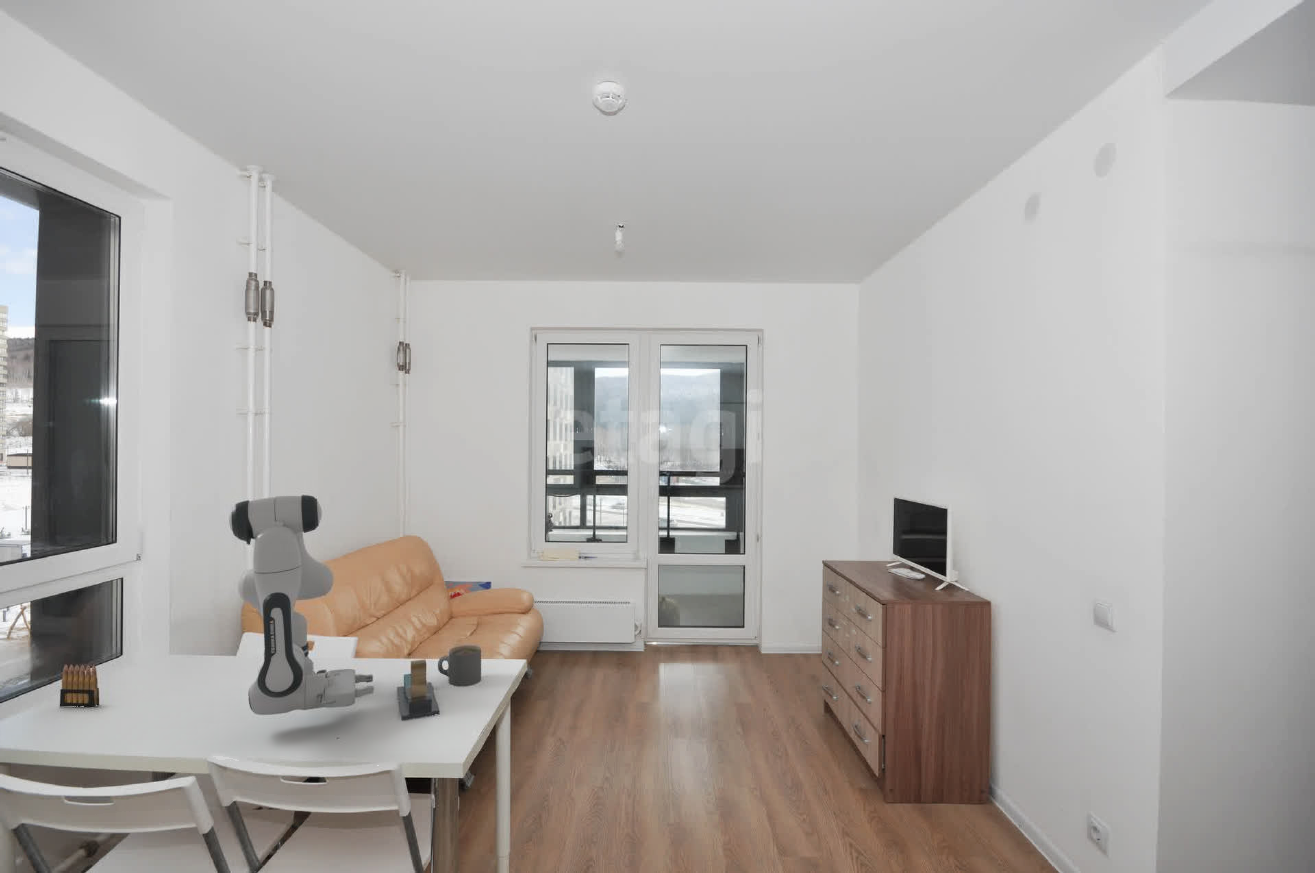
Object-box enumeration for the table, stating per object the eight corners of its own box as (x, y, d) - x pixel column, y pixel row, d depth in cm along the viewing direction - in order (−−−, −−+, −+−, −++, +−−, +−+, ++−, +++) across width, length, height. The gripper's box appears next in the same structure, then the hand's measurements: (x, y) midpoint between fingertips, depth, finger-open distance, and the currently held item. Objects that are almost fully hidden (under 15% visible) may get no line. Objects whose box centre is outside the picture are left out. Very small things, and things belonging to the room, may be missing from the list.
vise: (396, 690, 205) (396, 677, 205) (430, 685, 209) (430, 672, 209) (401, 720, 183) (401, 705, 183) (439, 714, 187) (439, 699, 187)
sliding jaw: (403, 684, 206) (403, 674, 206) (424, 681, 209) (424, 671, 209) (406, 697, 195) (406, 687, 195) (427, 694, 198) (427, 684, 198)
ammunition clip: (59, 706, 192) (59, 665, 193) (65, 704, 194) (65, 663, 194) (93, 707, 192) (94, 666, 192) (99, 705, 194) (99, 664, 194)
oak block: (410, 702, 192) (410, 661, 192) (425, 700, 194) (425, 659, 194) (411, 706, 189) (411, 664, 189) (426, 704, 191) (426, 662, 191)
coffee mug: (485, 675, 218) (485, 645, 218) (474, 687, 208) (474, 655, 208) (446, 674, 219) (446, 644, 219) (433, 685, 209) (433, 653, 209)
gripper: (316, 692, 172) (374, 684, 177) (320, 667, 190) (372, 661, 196) (316, 716, 171) (374, 708, 177) (320, 689, 190) (372, 682, 196)
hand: (373, 683), depth 187 cm, fingers open, 8 cm apart
